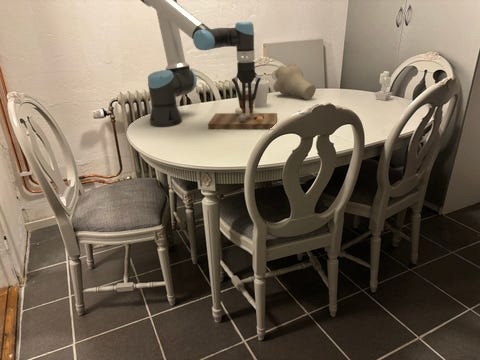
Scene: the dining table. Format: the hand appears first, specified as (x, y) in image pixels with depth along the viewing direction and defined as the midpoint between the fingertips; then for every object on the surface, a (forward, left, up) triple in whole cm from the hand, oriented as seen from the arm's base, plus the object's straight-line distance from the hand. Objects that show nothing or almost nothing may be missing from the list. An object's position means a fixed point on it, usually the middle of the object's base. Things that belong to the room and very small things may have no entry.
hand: (247, 115), depth 161 cm
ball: (+6, 0, -2) cm, 6 cm away
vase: (+22, +54, -4) cm, 59 cm away
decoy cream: (-5, +6, 0) cm, 8 cm away
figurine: (+70, +47, -4) cm, 85 cm away
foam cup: (+3, +33, -4) cm, 34 cm away
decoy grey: (-2, -6, 0) cm, 6 cm away
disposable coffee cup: (-3, +20, -4) cm, 21 cm away
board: (-2, 0, -4) cm, 4 cm away
